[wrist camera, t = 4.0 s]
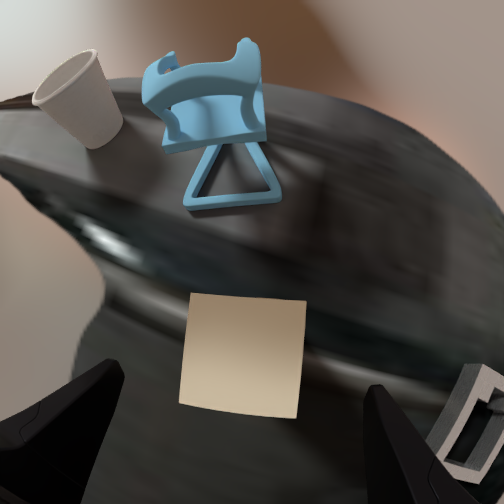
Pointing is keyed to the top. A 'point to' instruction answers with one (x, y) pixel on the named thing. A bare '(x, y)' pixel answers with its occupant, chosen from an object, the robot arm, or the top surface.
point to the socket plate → (456, 414)
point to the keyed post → (243, 355)
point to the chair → (212, 117)
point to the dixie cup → (81, 100)
